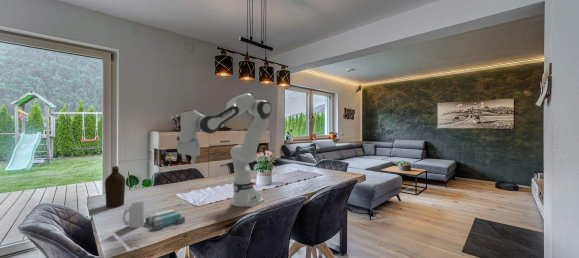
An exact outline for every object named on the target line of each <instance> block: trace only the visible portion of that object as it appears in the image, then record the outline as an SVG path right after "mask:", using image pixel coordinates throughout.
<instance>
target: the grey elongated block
mask: <svg viewBox="0 0 579 258" xmlns="http://www.w3.org/2000/svg"><path fill="white" fill-rule="evenodd" d="M174 213H176V210H174V209H169V210H164V211H160V212H157V213H152V214H149V215H148V217H149V223H150V221H152V220H154V218H158V217H162V216H166V215H170V214H174Z"/></svg>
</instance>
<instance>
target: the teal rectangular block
mask: <svg viewBox="0 0 579 258" xmlns="http://www.w3.org/2000/svg"><path fill="white" fill-rule="evenodd" d="M181 214H182V213H180V212H175V213H174V214H170V215H166V216H162V217H158V218H154V227H156V224H159V223H162V222H163V223H164V226H166V225H169V224H173V223H176V222H177V218H180V217H182V215H181Z"/></svg>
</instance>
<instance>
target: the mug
mask: <svg viewBox="0 0 579 258" xmlns="http://www.w3.org/2000/svg"><path fill="white" fill-rule="evenodd" d="M127 213H128V221H127V220H126V215H127ZM122 221H123V224H124V225H125V226H129V227H128V228H131V229H136V228H140V227H143V226H144V225H145V201H135V202H132V203H129V204H128V208H125V209H124V211H123V213H122Z"/></svg>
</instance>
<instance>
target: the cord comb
mask: <svg viewBox="0 0 579 258" xmlns="http://www.w3.org/2000/svg"><path fill="white" fill-rule="evenodd" d="M185 219H186V217H185V216H181V217H180V218H177V222H176V223H173V224H169V225H166V226H164V223H163V222H162V223H159V224H156V227H154V220H152V221H150V223H149V216H146V217H145V223H146V224H147V225H148V226H150V227H152V228H153V229H154V230H156V231H159V230H162V229H165V228H169V227H173V226H176V225H178V224H182V223H185V222H186V220H185Z"/></svg>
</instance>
